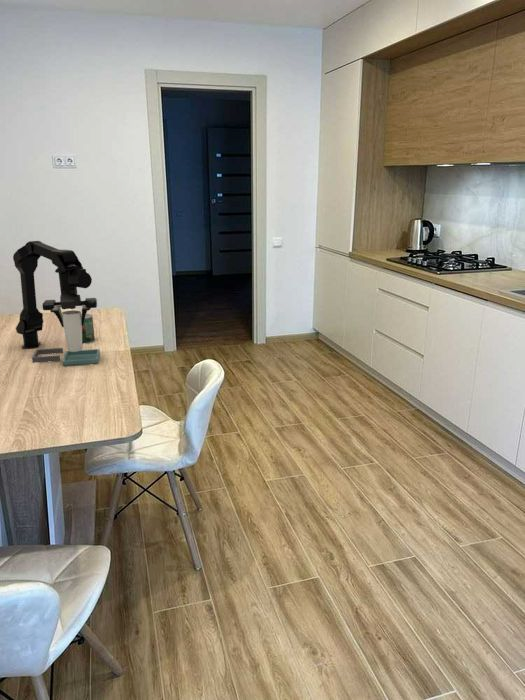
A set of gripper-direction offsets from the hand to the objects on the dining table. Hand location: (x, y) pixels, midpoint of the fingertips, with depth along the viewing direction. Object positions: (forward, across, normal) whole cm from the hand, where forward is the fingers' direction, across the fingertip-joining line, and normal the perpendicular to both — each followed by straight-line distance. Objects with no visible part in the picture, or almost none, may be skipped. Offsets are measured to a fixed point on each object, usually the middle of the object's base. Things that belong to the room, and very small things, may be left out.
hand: (72, 326), depth 195 cm
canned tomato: (+13, +1, +25) cm, 29 cm away
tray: (+13, +2, -1) cm, 13 cm away
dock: (+13, -11, +5) cm, 18 cm away
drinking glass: (+10, 0, 0) cm, 10 cm away
